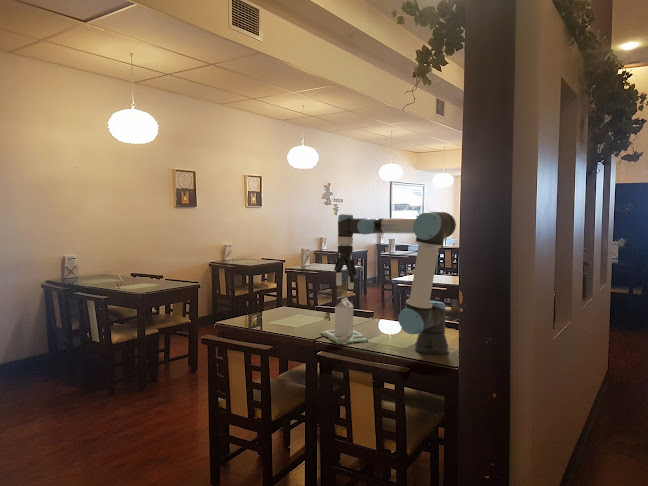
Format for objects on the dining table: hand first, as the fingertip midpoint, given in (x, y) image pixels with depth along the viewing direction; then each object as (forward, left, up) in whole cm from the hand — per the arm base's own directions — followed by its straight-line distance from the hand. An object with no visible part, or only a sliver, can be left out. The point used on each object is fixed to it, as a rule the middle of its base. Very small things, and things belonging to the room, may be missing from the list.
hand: (344, 287), depth 235 cm
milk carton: (0, 0, -25) cm, 25 cm away
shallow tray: (0, 0, -26) cm, 26 cm away
